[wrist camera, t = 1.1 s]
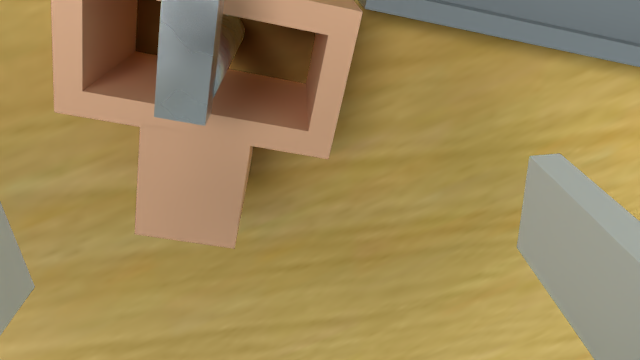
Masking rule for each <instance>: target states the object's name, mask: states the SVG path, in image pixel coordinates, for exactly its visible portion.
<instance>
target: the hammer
mask: <svg viewBox="0 0 640 360" xmlns="http://www.w3.org/2000/svg"><path fill="white" fill-rule="evenodd" d="M223 8H224V0H161V12H160V28H159V43H158V59H157V75H156V91H155V107H154V117H157V118H163V119H169V120H174V121H180V122H186V123H192V124H197V125H203V126H205V125H206V123H207V121H208V119H209V117H210V114H211V112H212V104H213V98H214V96H215V94H216V92H217V90H218V88H219V86H220V84H221V82H222V80H223V78H224V76H225V74H226V72H227V70H228V68H229V66H230V64H231V62H232V60H233V58H234V56H235V54H236V52H237V50H238V48H239V46H240V44H241V42H242V39H243V37H244V33H245V29H244V25H243V22H242V21H241V19H240V18H239V17H236V16H231V15H226V14H223Z"/></svg>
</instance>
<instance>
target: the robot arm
mask: <svg viewBox="0 0 640 360" xmlns="http://www.w3.org/2000/svg"><path fill="white" fill-rule="evenodd" d="M517 249H518V250H519V252H520V253H521V254H522V256H523V257H524V259H525V260H526V262H527V263H528V265H529V266H530V267H531V269H532V270H533V272H534V273H535V275H536V276H537V277H538V279H539V280H540V282H541V283H542V285H543V286H544V288H545V289H546V290H547V292H548V293H549V295H550V296H551V298H552V299H553V300H554V302H555V303H556V305H557V306H558V308H559V309H560V311H561V312H562V313H563V315H564V316H565V318H566V319H567V321H568V322H569V323H570V325H571V326H572V328H573V329H574V331H575V332H576V334H577V335H578V336H579V338H580V339H581V341H582V342H583V344H584V345H585V346H586V348H587V349H588V351H589V352H590V354H591V355H592V356H593V358H594V359H595V360H640V221H638V220H637V219H636V218H635V217H634V216H632V215H631V214H630V213H629V212H628V211H627V210H625V209H624V208H623V207H622V206H621V205H620V204H618V203H617V202H616V201H615V200H614V199H613V198H611V197H610V196H609V195H608V194H607V193H606V192H604V191H603V190H602V189H601V188H600V187H599V186H597V185H596V184H595V183H594V182H593V181H591V180H590V179H589V178H588V177H587V176H586V175H584V174H583V173H582V172H581V171H580V170H579V169H577V168H576V167H575V166H574V165H573V164H572V163H570V162H569V161H568V160H567V159H566V158H565V157H563V156H562V155H561V154H548V155H536V156H529V163H528V170H527V177H526V185H525V192H524V199H523V206H522V213H521V221H520V228H519V235H518V242H517ZM34 287H35V286H34V283H33V281H32V279H31V276H30V274H29V271H28V269H27V266H26V264H25V261H24V259H23V256H22V254H21V251H20V249H19V246H18V244H17V242H16V239H15V237H14V234H13V232H12V229H11V227H10V224H9V222H8V219H7V217H6V214H5V212H4V210H3V207H2V205H1V202H0V335H1V334H2V332H3V331H4V329H5V328H6V327H7V325H8V324H9V322H10V321H11V320H12V318H13V317H14V315H15V314H16V313H17V311H18V310H19V308H20V307H21V306H22V304H23V303H24V301H25V300H26V299H27V297H28V296H29V294H30V293H31V292H32V290H33V289H34Z"/></svg>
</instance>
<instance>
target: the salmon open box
mask: <svg viewBox="0 0 640 360" xmlns="http://www.w3.org/2000/svg"><path fill="white" fill-rule="evenodd" d="M158 1H161V0H158ZM137 4H138V0H51V16H52V51H53V86H54V112H56V113H62V114H67V115H73V116H79V117H85V118H91V119H97V120H102V121H108V122H114V123H120V124H126V125H132V126H137V127H140V138H139V158H138V178H137V197H136V217H135V234H137V235H144V236H151V237H158V238H165V239H171V240H178V241H185V242H192V243H199V244H206V245H213V246H220V247H227V248H233V249H235V244H236V239H237V234H238V229H239V223H240V218H241V213H242V208H243V203H244V198H245V193H246V188H247V183H248V177H249V171H250V165H251V158H252V152H253V146H254V147H260V148H266V149H272V150H277V151H283V152H289V153H295V154H301V155H307V156H312V157H318V158H324V159H329V155H330V151H331V147H332V142H333V138H334V134H335V129H336V125H337V121H338V116H339V112H340V108H341V103H342V99H343V95H344V91H345V86H346V82H347V78H348V73H349V69H350V65H351V60H352V56H353V52H354V47H355V43H356V39H357V35H358V30H359V26H360V22H361V17H362V13H363V12H362V10H361V9H360V8H359V6H358V5H357V4H356V3H355V1H354V0H224V8H223V14H226V15H231V16H236V17H241V18H246V19H251V20H256V21H261V22H266V23H271V24H276V25H281V26H285V27H290V28H295V29H300V30H305V31H310V32H315V33H316V34H315V39H314V44H313V49H312V55H311V60H310V65H309V70H308V75H307V80H306V83H300V82H295V81H290V80H285V79H279V78H274V77H269V76H264V75H258V74H253V73H248V72H242V71H237V70H232V69H228V70H227V72H226V74H225V76H224V78H223V80H222V82H221V84H220V86H219V88H218V90H217V92H216V94H215V96H214V98H213V104H212V112H211V114H210V117H209V119H208V121H207V123H206V125H205V126H203V125H197V124H192V123H186V122H180V121H174V120H169V119H163V118H157V117H154V107H155V91H156V75H157V59H158V55H153V54H148V53H142V52H137V51H136V28H137Z"/></svg>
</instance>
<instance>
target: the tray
mask: <svg viewBox="0 0 640 360" xmlns="http://www.w3.org/2000/svg"><path fill="white" fill-rule="evenodd" d="M358 1H359V3H360V4H361V5H362V6H363V7H364V8H365V9H369V10H373V11H378V12H383V13H387V14H392V15H397V16H402V17H406V18H411V19H416V20H420V21H425V22H430V23H435V24H439V25H444V26H449V27H454V28H458V29H463V30H468V31H472V32H477V33H482V34H487V35H491V36H496V37H501V38H505V39H510V40H515V41H520V42H524V43H529V44H534V45H538V46H543V47H548V48H553V49H557V50H562V51H567V52H571V53H576V54H581V55H586V56H590V57H595V58H600V59H604V60H609V61H614V62H619V63H623V64H628V65H633V66H637V67H640V0H358Z"/></svg>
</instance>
